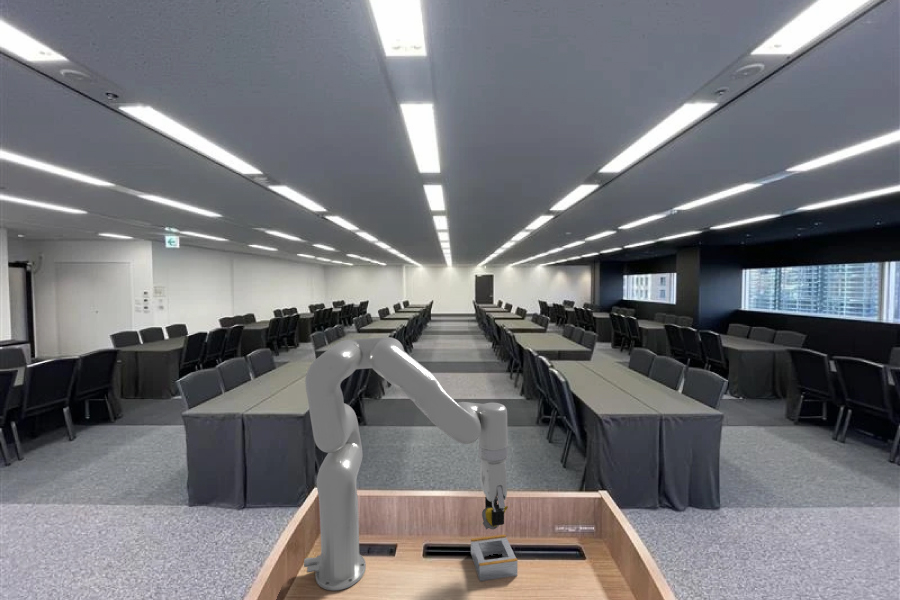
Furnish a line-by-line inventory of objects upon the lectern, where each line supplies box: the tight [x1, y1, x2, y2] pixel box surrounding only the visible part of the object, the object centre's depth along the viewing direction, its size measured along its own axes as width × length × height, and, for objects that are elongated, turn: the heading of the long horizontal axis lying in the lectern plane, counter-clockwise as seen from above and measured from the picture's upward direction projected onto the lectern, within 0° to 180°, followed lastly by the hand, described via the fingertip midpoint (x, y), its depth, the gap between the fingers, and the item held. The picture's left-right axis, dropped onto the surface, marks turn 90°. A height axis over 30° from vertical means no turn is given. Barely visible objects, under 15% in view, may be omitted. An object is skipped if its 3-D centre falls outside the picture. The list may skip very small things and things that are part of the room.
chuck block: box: [470, 534, 518, 582], centre depth 104 cm, size 10×10×4 cm
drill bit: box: [481, 505, 509, 531], centre depth 103 cm, size 5×5×10 cm
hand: (494, 516), depth 104 cm, fingers closed on drill bit, 5 cm apart
